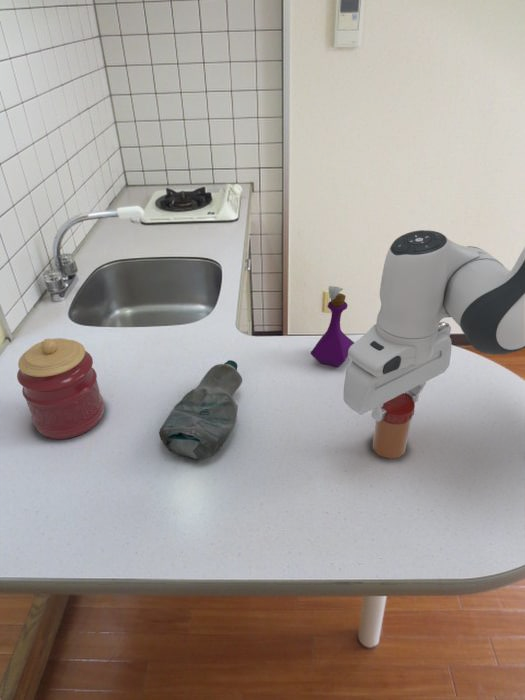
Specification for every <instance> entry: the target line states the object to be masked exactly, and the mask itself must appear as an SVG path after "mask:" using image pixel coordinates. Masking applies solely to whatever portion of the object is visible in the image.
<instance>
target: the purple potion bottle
mask: <svg viewBox="0 0 525 700" xmlns="http://www.w3.org/2000/svg"><path fill="white" fill-rule="evenodd" d="M327 289H328V294H329V295H328V296H329V298H330V301H329V302H328V303H327V309H329V310H330V311H331V317H330V322H329V324H328V327H327V329H326V331H325V332H324V334H323V335H322V336H321V338H320V339H319V340H318V342H317V343H316V344H315V345H314V347H313V348H312V349H311V351H310V355H311V356H312V357H313V358H314V359H315V360H316V361H317V362H318V363H319V364H321V365H325V366H329V367H333V368H336V369H339V368H340V367H341V366H342V365H343V364H344V363H345V361H346V360H347V358H348V350H349V348H350V346H351V345H353V344H354V343H355V341H353V340H352V339H350V337H348V336H347V335H346V334H345V333H344V332H343V331H342V329H341V317H342V313H343V312H344V311H345V310H347V309H348V306H349V305H348V303H347V302H346V298H347V297H346V295H345V294H344V293H341V292H342V291H343V290H344V288H342V287H339V286H333V285H329V286H328V288H327Z"/></svg>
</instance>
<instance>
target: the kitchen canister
mask: <svg viewBox="0 0 525 700" xmlns="http://www.w3.org/2000/svg"><path fill="white" fill-rule="evenodd" d="M17 362H18V365H17V366H18V371H17V372H16V373H17V374H16V379H17V382H18V383H19V385H21V387H22V389H21V390H22V391H21V392H22V396H23V398H24V399H25V401H26V403H27V406H28V410H29V411H30V414H31V420H32V422H33V423H32V424H33V425H34V427H35V429H36V430H37V431H38V433H39V434H40V435H42V436H44V437H46V438H49V439H55V440H65V439H70V438H75V437H78V436H81V435H83V434H85V433H86V432H89V431H90V430H91V429H93V428H95V426H97V425H98V424H99V422H100V421H101V420H102V418H103V416H104V412H105V410H104V408H105V403H104V398H103V396H102V394H101V391H100V388H99V387H100V386H99V383H98V376H97V371H96V370H95V368H94V367H93V365H94V364H93V363H94V360H93V357H92V355H91V354H90V353H89V352H88V351H86V349H85V347H84V345H83V344H82V343H81V342H79V341H77V340H73V339H68V338H60V337H59V338H58V337H57V338H45V339H44V340H42V341H40V342H37V343H36V344H34V345H32V346H31V347H30V348H29V349H28V350H26V351H25V352H24V353H23V354H22V355H21V356H20V357H19V359H18V361H17Z"/></svg>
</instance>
